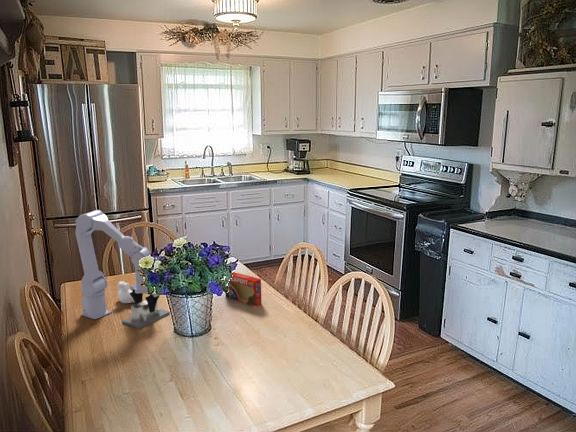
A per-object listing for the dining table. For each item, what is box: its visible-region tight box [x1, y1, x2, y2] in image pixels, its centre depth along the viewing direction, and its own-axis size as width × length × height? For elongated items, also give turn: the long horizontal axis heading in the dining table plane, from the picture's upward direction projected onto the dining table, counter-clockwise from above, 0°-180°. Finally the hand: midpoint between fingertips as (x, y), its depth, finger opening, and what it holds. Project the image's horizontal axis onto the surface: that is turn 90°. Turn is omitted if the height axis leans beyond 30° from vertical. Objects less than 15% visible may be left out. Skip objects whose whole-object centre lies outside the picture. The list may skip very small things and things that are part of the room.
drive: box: [130, 299, 159, 322], centre depth 183 cm, size 4×10×6 cm, turn 148°
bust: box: [116, 280, 135, 305], centre depth 199 cm, size 12×8×11 cm
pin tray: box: [121, 307, 171, 330], centre depth 184 cm, size 10×16×4 cm, turn 148°
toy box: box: [225, 271, 262, 308], centre depth 200 cm, size 18×4×12 cm, turn 54°
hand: (145, 309), depth 183 cm, fingers open, 7 cm apart
